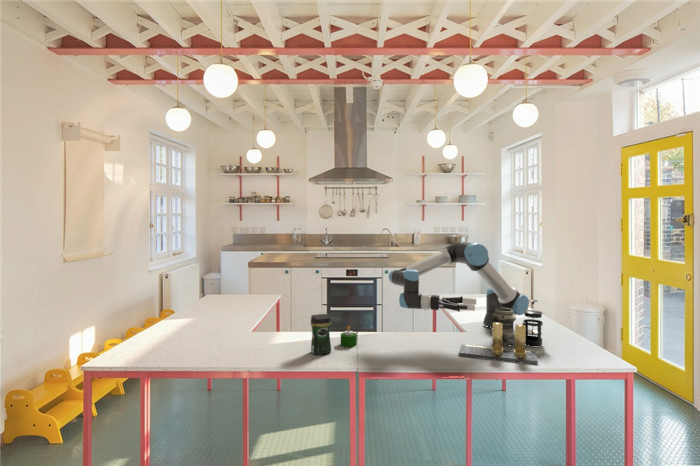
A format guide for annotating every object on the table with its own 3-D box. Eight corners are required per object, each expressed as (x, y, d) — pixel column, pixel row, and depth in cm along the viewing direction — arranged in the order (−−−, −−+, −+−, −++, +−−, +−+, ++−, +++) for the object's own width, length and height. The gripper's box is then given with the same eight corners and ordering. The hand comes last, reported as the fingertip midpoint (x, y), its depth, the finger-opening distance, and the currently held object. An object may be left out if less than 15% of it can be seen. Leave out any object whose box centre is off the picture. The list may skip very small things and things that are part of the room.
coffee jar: (328, 349, 205) (328, 312, 205) (332, 354, 198) (332, 315, 197) (309, 351, 203) (309, 313, 202) (312, 356, 195) (312, 317, 194)
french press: (532, 340, 220) (533, 297, 219) (547, 345, 211) (548, 300, 210) (516, 343, 215) (516, 299, 214) (530, 348, 207) (531, 302, 206)
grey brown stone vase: (504, 348, 207) (504, 312, 206) (485, 342, 217) (486, 308, 217) (520, 345, 212) (521, 310, 212) (502, 339, 223) (502, 305, 222)
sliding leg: (491, 355, 192) (491, 326, 191) (491, 349, 200) (492, 321, 199) (502, 356, 190) (503, 327, 190) (502, 350, 198) (503, 322, 198)
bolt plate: (458, 355, 196) (459, 324, 195) (461, 347, 209) (461, 317, 208) (537, 364, 184) (538, 330, 184) (535, 354, 197) (535, 323, 197)
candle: (343, 341, 218) (343, 322, 218) (358, 343, 215) (358, 324, 215) (338, 346, 210) (338, 326, 210) (353, 348, 207) (353, 328, 207)
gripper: (434, 304, 218) (476, 306, 211) (426, 315, 194) (474, 318, 187) (434, 290, 218) (476, 292, 210) (426, 299, 194) (473, 302, 187)
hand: (475, 304), depth 199 cm, fingers open, 13 cm apart
